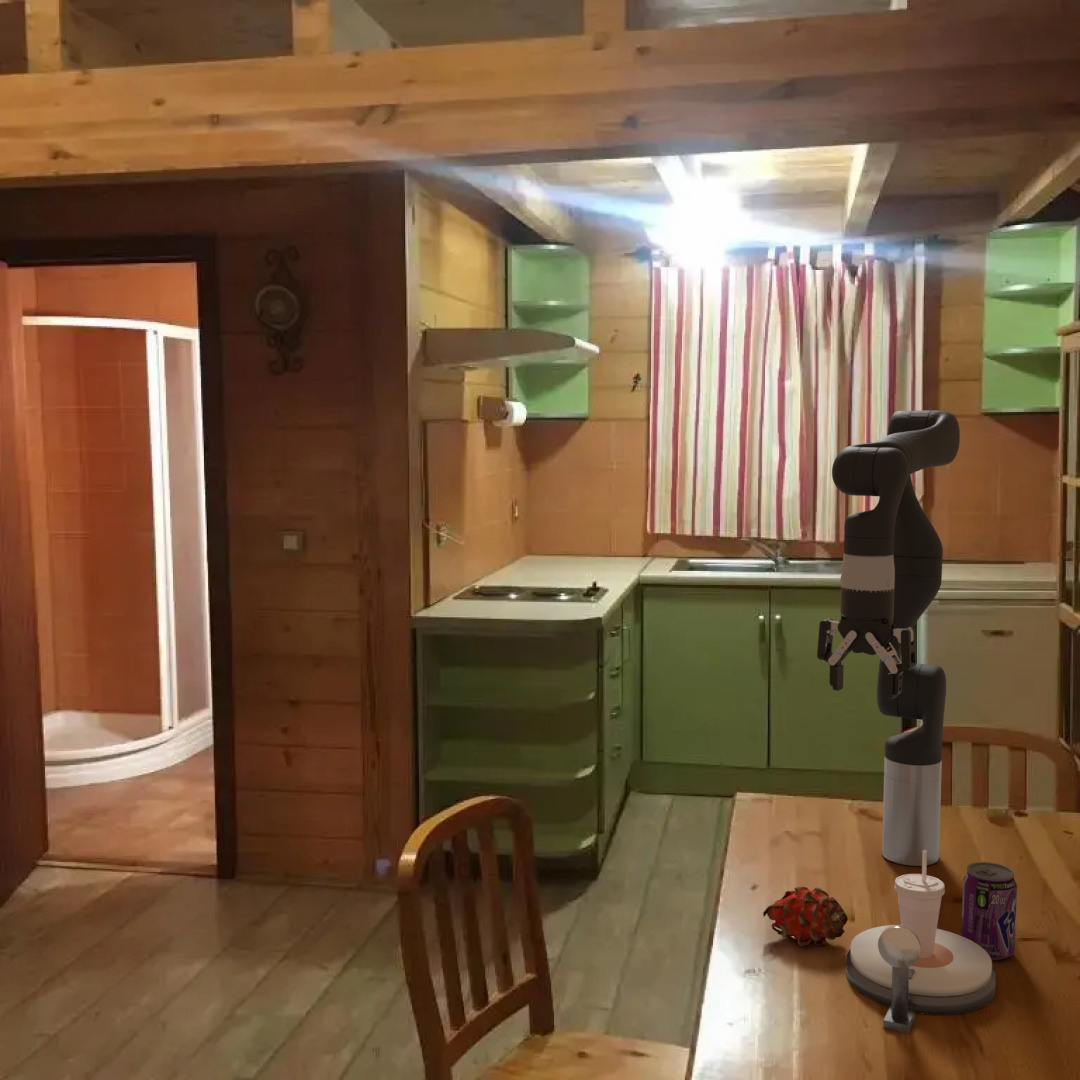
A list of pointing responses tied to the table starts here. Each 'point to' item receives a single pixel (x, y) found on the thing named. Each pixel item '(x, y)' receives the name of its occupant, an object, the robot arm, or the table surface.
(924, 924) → the smoothie
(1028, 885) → the table surface
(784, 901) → the dragon fruit
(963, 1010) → the base
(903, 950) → the stand
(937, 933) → the turntable
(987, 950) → the beverage can
